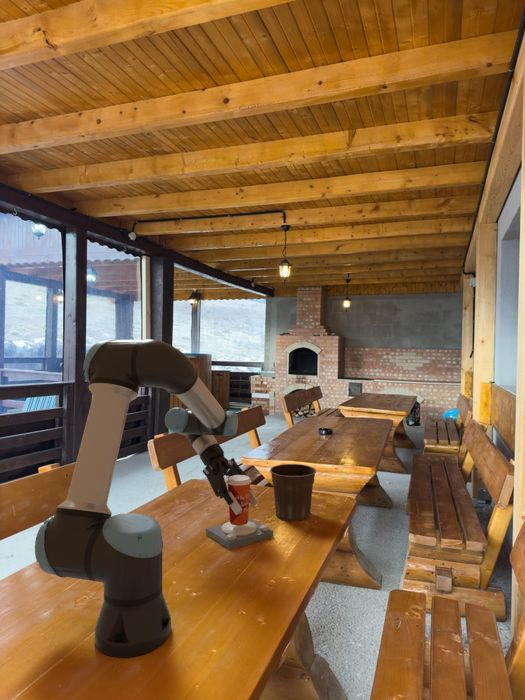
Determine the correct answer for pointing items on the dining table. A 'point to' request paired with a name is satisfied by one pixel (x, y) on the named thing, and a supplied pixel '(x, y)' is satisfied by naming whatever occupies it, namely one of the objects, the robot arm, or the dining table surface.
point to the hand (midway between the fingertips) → (247, 508)
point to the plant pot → (293, 490)
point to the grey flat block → (239, 533)
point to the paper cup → (239, 498)
